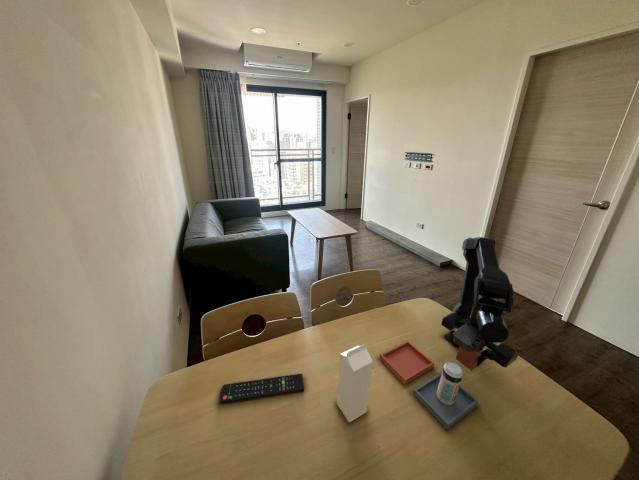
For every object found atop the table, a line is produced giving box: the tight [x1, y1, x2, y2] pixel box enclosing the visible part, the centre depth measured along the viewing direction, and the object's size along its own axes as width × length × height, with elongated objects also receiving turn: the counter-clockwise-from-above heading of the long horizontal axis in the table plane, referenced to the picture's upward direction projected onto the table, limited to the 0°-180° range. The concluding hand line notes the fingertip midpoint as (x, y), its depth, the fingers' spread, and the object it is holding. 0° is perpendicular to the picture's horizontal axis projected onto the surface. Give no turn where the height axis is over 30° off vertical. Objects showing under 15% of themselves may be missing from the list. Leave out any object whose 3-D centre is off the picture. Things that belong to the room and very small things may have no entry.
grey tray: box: [412, 371, 479, 431], centre depth 72 cm, size 13×11×2 cm
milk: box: [336, 343, 374, 423], centre depth 66 cm, size 6×6×22 cm
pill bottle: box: [437, 361, 464, 405], centre depth 70 cm, size 5×5×12 cm
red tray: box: [379, 340, 435, 386], centre depth 84 cm, size 13×11×2 cm
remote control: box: [219, 373, 305, 404], centre depth 74 cm, size 5×24×1 cm, turn 100°
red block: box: [455, 347, 485, 372], centre depth 74 cm, size 5×5×5 cm
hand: (469, 359), depth 75 cm, fingers closed on red block, 5 cm apart
